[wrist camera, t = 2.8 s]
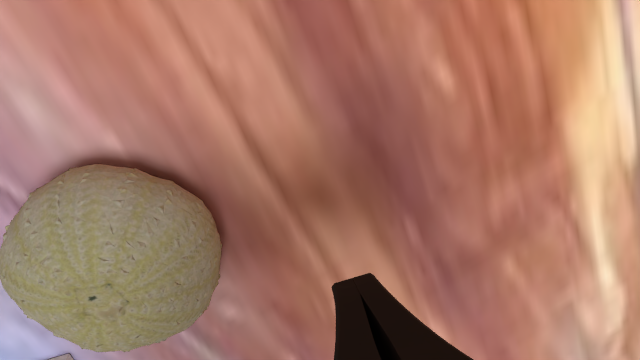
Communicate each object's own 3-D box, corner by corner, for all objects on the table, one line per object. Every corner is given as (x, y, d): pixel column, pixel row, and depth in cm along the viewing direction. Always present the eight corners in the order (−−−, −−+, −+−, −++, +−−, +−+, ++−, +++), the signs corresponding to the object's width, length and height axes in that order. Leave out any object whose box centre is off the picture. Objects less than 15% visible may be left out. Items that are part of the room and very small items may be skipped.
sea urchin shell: (77, 368, 20) (-73, 404, 12) (68, 224, 22) (-62, 180, 15) (250, 317, 20) (209, 321, 13) (222, 184, 23) (175, 122, 15)
